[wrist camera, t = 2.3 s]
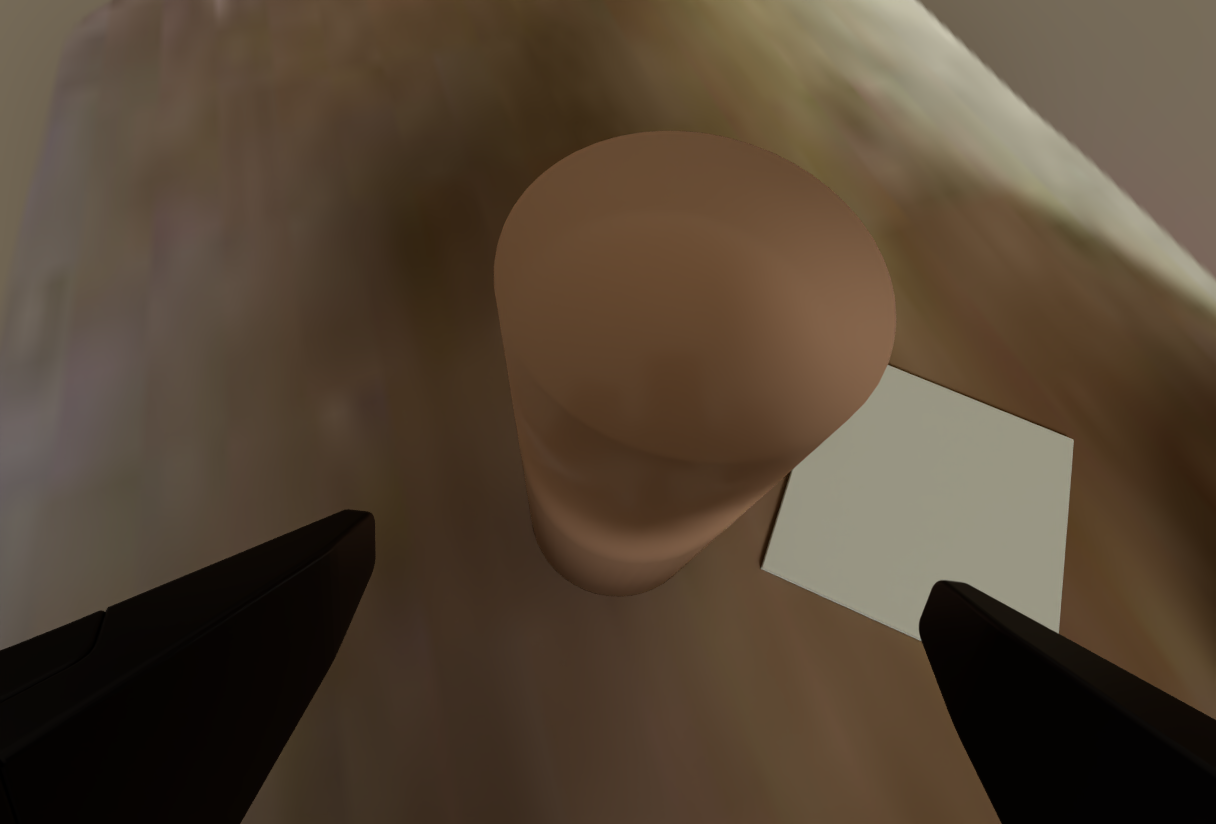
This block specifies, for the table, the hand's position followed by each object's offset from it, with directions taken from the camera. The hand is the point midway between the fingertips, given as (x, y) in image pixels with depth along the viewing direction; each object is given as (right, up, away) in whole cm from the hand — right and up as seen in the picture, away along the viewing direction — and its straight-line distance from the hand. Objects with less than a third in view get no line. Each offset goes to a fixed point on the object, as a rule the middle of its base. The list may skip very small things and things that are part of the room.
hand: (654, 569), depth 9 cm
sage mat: (+11, -1, +12) cm, 16 cm away
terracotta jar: (0, -1, +11) cm, 11 cm away
